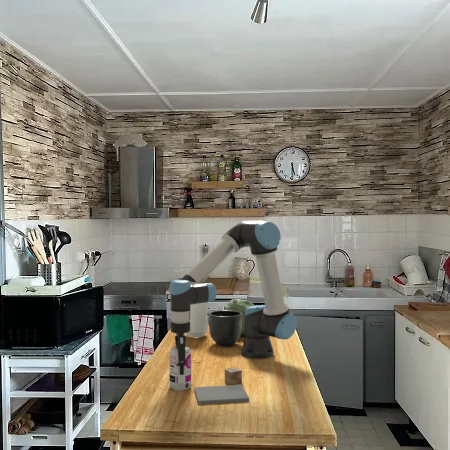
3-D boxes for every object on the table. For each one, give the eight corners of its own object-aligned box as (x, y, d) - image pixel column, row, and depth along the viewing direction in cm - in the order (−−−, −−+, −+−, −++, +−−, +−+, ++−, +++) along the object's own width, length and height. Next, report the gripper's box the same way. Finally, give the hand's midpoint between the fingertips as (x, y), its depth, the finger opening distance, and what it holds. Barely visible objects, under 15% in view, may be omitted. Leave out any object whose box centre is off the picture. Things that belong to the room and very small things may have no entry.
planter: (247, 347, 248) (247, 315, 247) (213, 350, 243) (213, 317, 243) (236, 339, 264) (236, 309, 264) (204, 341, 259) (204, 311, 259)
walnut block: (235, 379, 201) (235, 367, 201) (241, 383, 196) (241, 370, 196) (224, 381, 198) (224, 368, 198) (230, 385, 194) (230, 372, 194)
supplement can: (194, 385, 194) (194, 346, 193) (185, 392, 186) (185, 352, 186) (175, 382, 196) (175, 344, 196) (166, 389, 189) (165, 350, 188)
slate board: (241, 387, 191) (241, 384, 191) (249, 401, 177) (249, 398, 177) (194, 390, 188) (194, 387, 188) (198, 404, 174) (198, 400, 174)
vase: (197, 332, 280) (197, 282, 280) (212, 336, 271) (212, 284, 270) (179, 335, 272) (179, 284, 271) (194, 340, 262) (194, 287, 262)
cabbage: (259, 338, 266) (259, 301, 266) (224, 338, 267) (224, 300, 266) (258, 331, 282) (258, 296, 281) (224, 331, 282) (224, 296, 282)
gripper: (168, 315, 202) (168, 367, 203) (172, 329, 178) (172, 388, 178) (187, 314, 203) (187, 366, 204) (193, 328, 179) (193, 387, 179)
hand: (180, 376), depth 191 cm, fingers open, 13 cm apart
